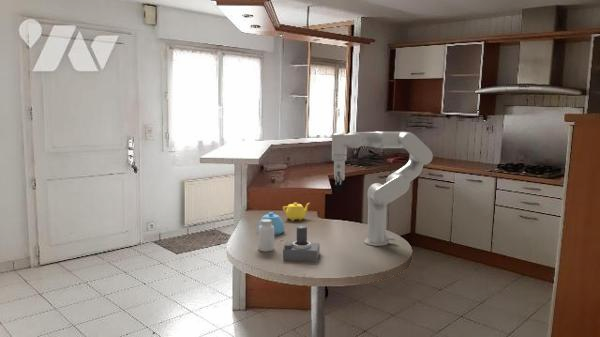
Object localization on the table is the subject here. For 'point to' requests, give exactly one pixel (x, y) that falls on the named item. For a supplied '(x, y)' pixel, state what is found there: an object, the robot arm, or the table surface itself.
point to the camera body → (301, 251)
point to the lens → (301, 235)
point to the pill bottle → (266, 235)
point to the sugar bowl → (274, 222)
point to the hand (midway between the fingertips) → (338, 190)
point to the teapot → (295, 211)
